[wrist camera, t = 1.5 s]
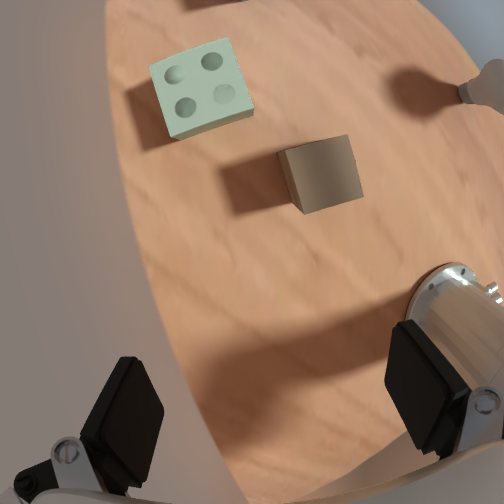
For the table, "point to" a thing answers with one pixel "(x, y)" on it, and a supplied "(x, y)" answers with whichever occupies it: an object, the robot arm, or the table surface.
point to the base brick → (201, 89)
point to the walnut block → (321, 174)
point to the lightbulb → (486, 87)
